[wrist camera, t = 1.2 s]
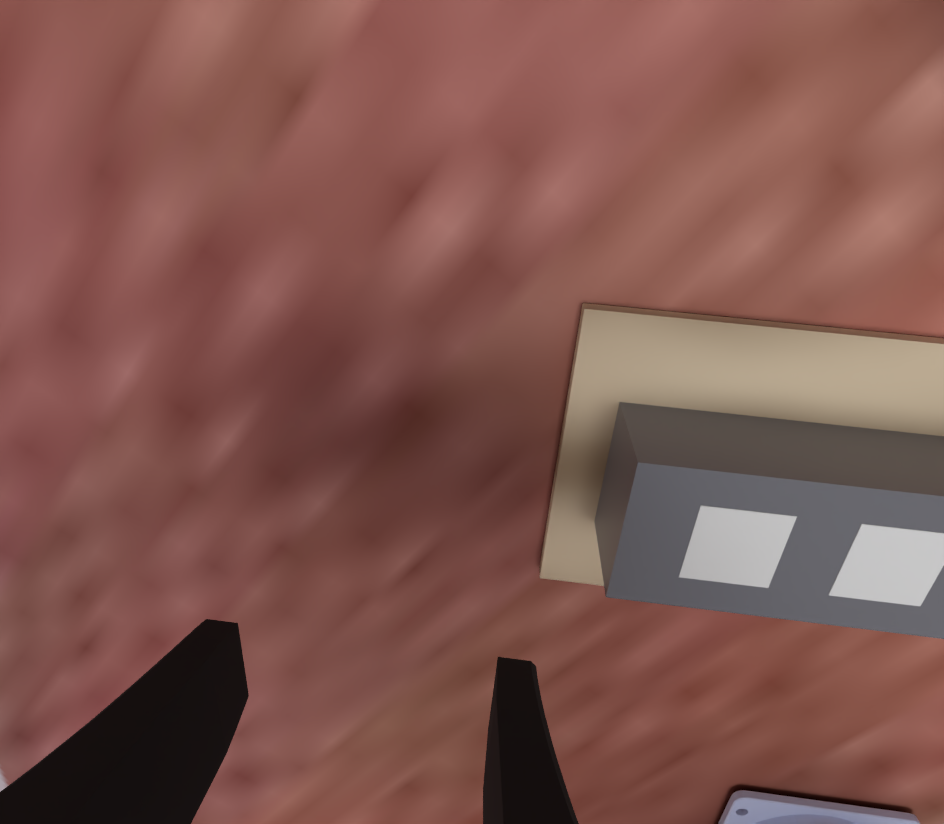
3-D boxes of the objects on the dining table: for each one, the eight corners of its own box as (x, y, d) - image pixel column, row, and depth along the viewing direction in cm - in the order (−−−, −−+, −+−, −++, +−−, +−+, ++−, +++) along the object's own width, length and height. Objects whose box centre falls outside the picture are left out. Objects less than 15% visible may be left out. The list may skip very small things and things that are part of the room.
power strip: (1027, 572, 19) (1125, 661, 16) (594, 521, 20) (606, 597, 16) (1104, 453, 17) (1236, 529, 14) (619, 402, 18) (638, 462, 14)
